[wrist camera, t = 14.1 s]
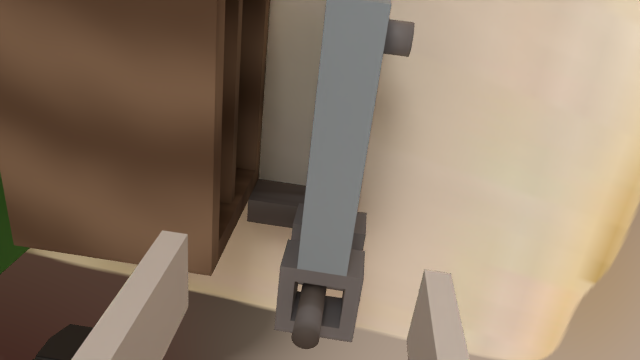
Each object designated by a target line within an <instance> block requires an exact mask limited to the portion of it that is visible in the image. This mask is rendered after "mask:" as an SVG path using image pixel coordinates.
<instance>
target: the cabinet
mask: <svg viewBox="0 0 640 360" xmlns="http://www.w3.org/2000/svg"><path fill="white" fill-rule="evenodd" d="M269 8H270V0H0V173H1V178H2V183H3V189H4V194H5V200H6V205H7V211H8V216H9V222H10V227H11V232H12V238H13V243H14V245H16V246H23V247H29V248H36V249H42V250H48V251H55V252H61V253H68V254H74V255H81V256H87V257H94V258H100V259H106V260H113V261H119V262H126V263H132V264H139V263H140V261H141V260H142V258H143V257H144V256H145V254H146V253H147V251H148V250H149V249H150V247H151V246H152V244H153V243H154V241H155V240H156V239H157V237H158V236H159V234H160V233H161V231H162V230H163V231H170V232H176V233H183V234H188V272H190V273H197V274H203V275H210V276H211V275H212V273H213V271H214V269H215V267H216V265H217V263H218V261H219V259H220V257H221V255H222V253H223V251H224V249H225V246H226V244H227V242H228V240H229V238H230V236H231V234H232V232H233V230H234V228H235V226H236V224H237V222H238V220H239V218H240V216H241V214H242V212H243V210H244V208H245V206H246V203H247V201H248V216H247V221H249V222H255V223H262V224H269V225H275V226H282V227H289V228H293V222H294V219H295V215H296V212H297V209H298V205H299V203H302V204H304V201H305V192H306V186H302V185H296V184H289V183H282V182H275V181H268V180H261V179H258V178H259V163H260V147H261V132H262V116H263V101H264V85H265V70H266V54H267V39H268V23H269ZM326 288H327V286H321V285H315V284H308V283H303V285H302V290H301V295H300V299H299V304H298V309H297V313H296V318H295V323H294V327H293V332H292V341H293V343H294V344H295V345H296V346H298V347H300V348H303V349H310V348H313V347H315V346H316V345H317V344H318V342H319V336H320V329H321V322H322V316H323V309H324V302H325V295H326Z"/></svg>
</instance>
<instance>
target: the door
mask: <svg viewBox="0 0 640 360" xmlns="http://www.w3.org/2000/svg"><path fill="white" fill-rule="evenodd" d="M390 9H391V0H327V2H326V11H325V20H324V29H323V38H322V47H321V56H320V65H319V74H318V83H317V92H316V101H315V111H314V120H313V129H312V138H311V147H310V156H309V165H308V174H307V183H306V192H305V201H304V204H302V203H299V205H298V209H297V212H296V215H295V219H294V222H293V229H292V238H291V240H289V239H288V242H287V245H286V249H285V252H284V256H283V259H282V262H281V266H280V275H279V286H278V297H277V308H276V319H275V330H278V331H285V332H291V333H292V332H293V327H294V323H295V318H296V313H297V309H298V304H299V299H300V295H301V292H299V291H297V288H298V284H302V285H303V283H308V284H315V285H321V286H327V289H334V290H340V291H343V296H342V298H337V297H331V296H325V302H324V309H323V316H322V322H321V329H320V336H319V337H322V338H328V339H334V340H340V341H347V342H352V339H353V333H354V328H355V323H356V317H357V312H358V306H359V301H360V295H361V290H362V285H363V279H364V257H365V251H363V246H364V240H365V235H366V213H363V212H357V210H358V204H359V198H360V192H361V185H362V179H363V173H364V167H365V161H366V155H367V149H368V143H369V137H370V131H371V124H372V118H373V112H374V106H375V100H376V94H377V88H378V82H379V76H380V70H381V63H382V57H383V54H391V55H398V56H406V57H409V54H410V50H411V46H412V40H413V34H414V23H413V22H406V21H398V20H390V19H389V15H390Z"/></svg>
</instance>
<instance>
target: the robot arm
mask: <svg viewBox="0 0 640 360" xmlns="http://www.w3.org/2000/svg"><path fill="white" fill-rule="evenodd" d="M187 308H188V234H183V233H176V232H170V231H163V230H162V231H161V233H160V234H159V236H158V237H157V239H156V240H155V241H154V243H153V244H152V246H151V247H150V249H149V250H148V251H147V253H146V254H145V256H144V257H143V258H142V260H141V261H140V263H139V264H138V266H137V267H136V268H135V270H134V271H133V273H132V274H131V275H130V277H129V278H128V280H127V281H126V283H125V284H124V285H123V287H122V288H121V290H120V291H119V293H118V294H117V296H116V297H115V298H114V300H113V301H112V302H111V304H110V305H109V307H108V308H107V310H106V311H105V312H104V314H103V315H102V317H101V318H100V320H99V321H98V322H97V324H96V325H95V327H94V328H92V327H85V326H79V325H72V324H70V325H68V326H67V327H65V328H64V329H62V330H61V331H59V332H58V333H57V334H55V335H54V336H52V337H51V338H50V339H49V340H48V341H47V342H46V344H45V345H44V346H43V347H42V349H41V350H40V351H39V352H38V354H37V355H36V358H35V359H33V360H162V359H163V357H164V355H165V353H166V351H167V349H168V347H169V345H170V343H171V341H172V339H173V337H174V335H175V333H176V331H177V329H178V327H179V325H180V323H181V321H182V319H183V317H184V315H185V313H186V310H187ZM407 351H408V360H470V359H469V355H468V350H467V345H466V341H465V336H464V331H463V327H462V322H461V318H460V313H459V308H458V304H457V299H456V294H455V290H454V285H453V280H452V276H451V273H445V272H438V271H431V270H425V269H424V273H423V277H422V281H421V285H420V289H419V293H418V297H417V301H416V305H415V309H414V313H413V317H412V321H411V325H410V329H409V333H408V337H407Z"/></svg>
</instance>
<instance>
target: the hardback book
mask: <svg viewBox="0 0 640 360" xmlns="http://www.w3.org/2000/svg"><path fill="white" fill-rule="evenodd" d="M28 249H29V247H23V246H16V245H14V243H13V238H12V232H11V227H10V222H9V216H8V211H7V205H6V200H5V194H4V189H3V183H2V178H1V173H0V274H1V273H2V272H3V271H4V270H6V269H7V268H8V267H9V266H10V265H11V264H12V263H13V262H15V261H16V260H17V259H18V258H19V257H20V256H21V255H22V254H23V253H25V252H26V251H27V250H28Z"/></svg>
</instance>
